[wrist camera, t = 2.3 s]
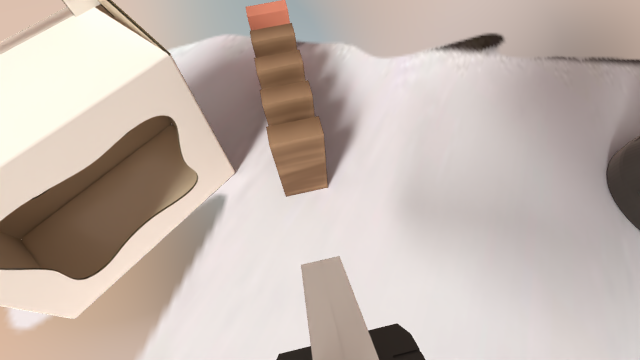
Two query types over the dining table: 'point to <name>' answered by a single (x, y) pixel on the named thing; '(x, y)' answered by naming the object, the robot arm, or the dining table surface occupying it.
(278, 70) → the domino
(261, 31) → the domino
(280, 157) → the domino
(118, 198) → the gable box
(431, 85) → the dining table surface
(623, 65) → the dining table surface
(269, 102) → the domino
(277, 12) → the domino
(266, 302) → the dining table surface
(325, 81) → the dining table surface
